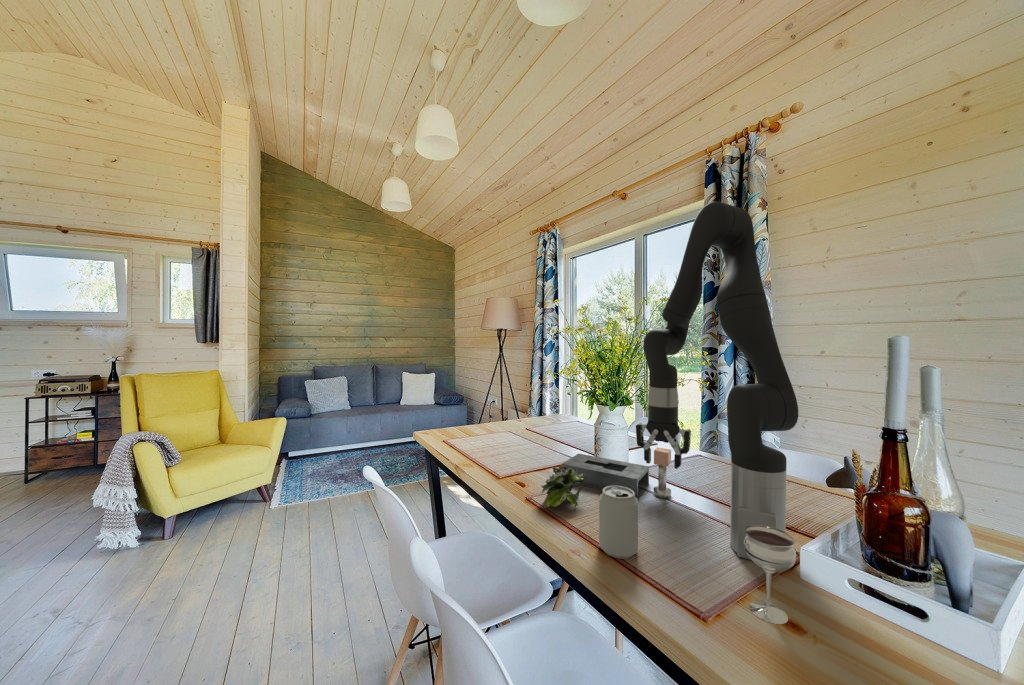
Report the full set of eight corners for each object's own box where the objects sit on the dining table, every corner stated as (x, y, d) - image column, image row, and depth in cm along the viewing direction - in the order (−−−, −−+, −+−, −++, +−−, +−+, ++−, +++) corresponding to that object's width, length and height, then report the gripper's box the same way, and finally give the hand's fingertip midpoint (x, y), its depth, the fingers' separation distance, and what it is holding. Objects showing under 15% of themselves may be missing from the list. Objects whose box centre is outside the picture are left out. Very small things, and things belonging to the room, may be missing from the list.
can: (617, 565, 72) (617, 501, 72) (591, 545, 79) (591, 487, 78) (646, 554, 75) (646, 493, 75) (619, 536, 82) (619, 481, 82)
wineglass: (776, 634, 55) (777, 551, 55) (733, 604, 61) (733, 529, 61) (805, 620, 58) (807, 541, 58) (761, 592, 64) (762, 521, 64)
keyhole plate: (637, 498, 102) (637, 479, 102) (561, 480, 114) (561, 463, 114) (648, 483, 112) (649, 466, 112) (578, 468, 124) (578, 453, 124)
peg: (669, 499, 101) (669, 453, 101) (651, 495, 103) (652, 450, 103) (672, 493, 104) (673, 449, 104) (655, 490, 107) (656, 446, 107)
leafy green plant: (559, 518, 102) (574, 475, 107) (587, 528, 93) (602, 480, 97) (527, 501, 98) (545, 456, 103) (553, 509, 89) (571, 460, 94)
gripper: (631, 403, 104) (631, 464, 105) (689, 408, 96) (688, 474, 97) (639, 399, 111) (639, 457, 111) (694, 404, 103) (693, 466, 103)
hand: (662, 465), depth 104 cm, fingers open, 6 cm apart
